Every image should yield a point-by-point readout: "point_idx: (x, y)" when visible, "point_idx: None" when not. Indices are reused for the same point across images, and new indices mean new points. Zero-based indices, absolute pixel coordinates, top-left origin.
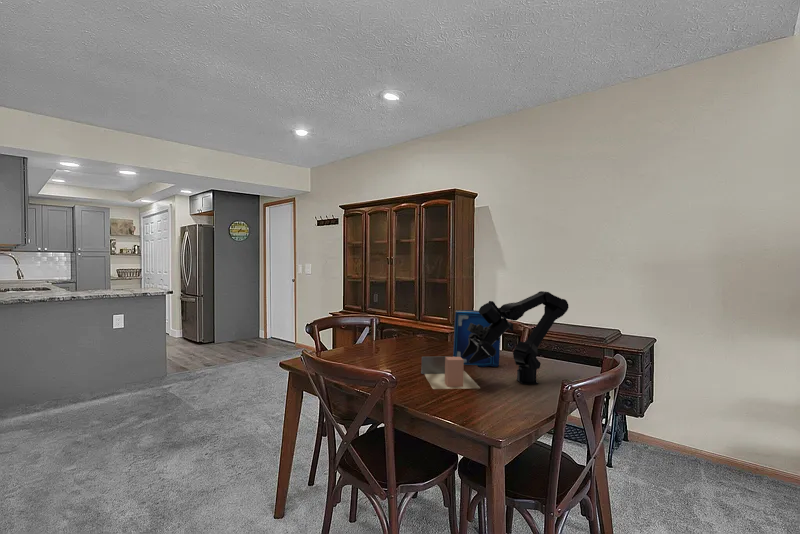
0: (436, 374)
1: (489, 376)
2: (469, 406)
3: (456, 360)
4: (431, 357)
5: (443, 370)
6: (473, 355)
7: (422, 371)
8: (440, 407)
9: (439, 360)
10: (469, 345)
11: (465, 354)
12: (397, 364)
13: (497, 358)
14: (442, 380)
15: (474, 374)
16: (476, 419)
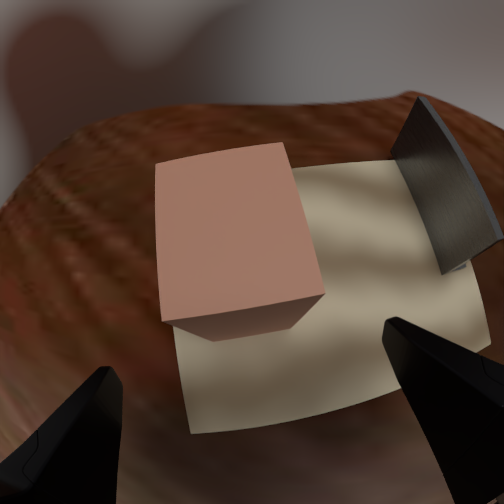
0: (405, 208)
1: None
2: (21, 327)
3: (158, 241)
4: (442, 135)
5: (438, 234)
6: (52, 423)
7: (395, 146)
8: (26, 231)
9: (457, 185)
10: (497, 408)
11: (400, 354)
12: (468, 112)
13: None
14: (311, 232)
15: None
16: None
